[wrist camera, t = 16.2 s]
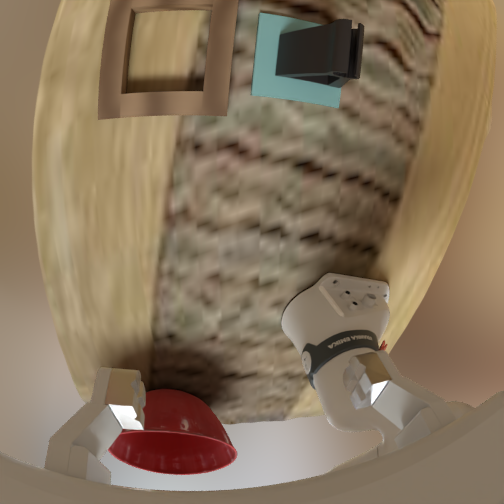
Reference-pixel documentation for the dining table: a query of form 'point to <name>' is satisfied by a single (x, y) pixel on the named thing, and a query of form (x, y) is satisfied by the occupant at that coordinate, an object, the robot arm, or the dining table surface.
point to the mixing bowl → (175, 437)
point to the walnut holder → (168, 102)
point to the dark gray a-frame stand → (322, 53)
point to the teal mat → (267, 60)
